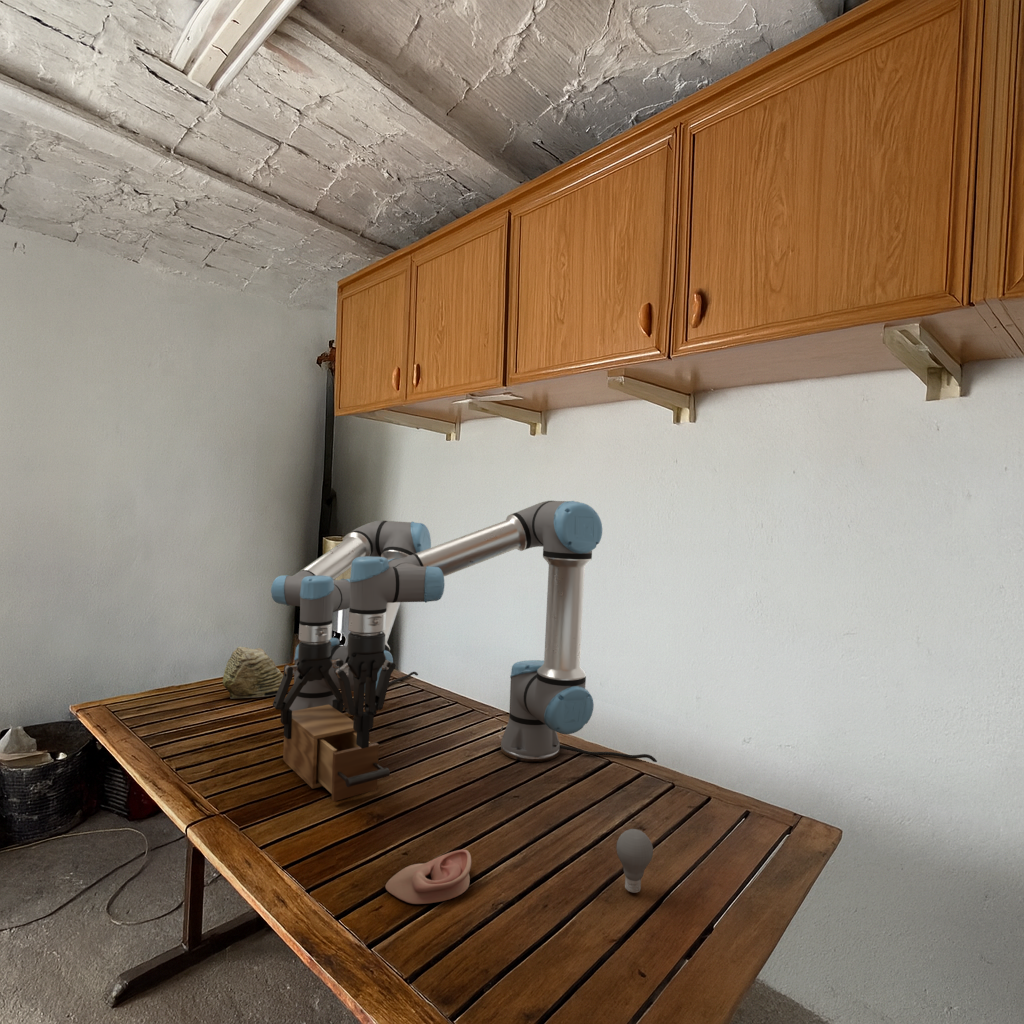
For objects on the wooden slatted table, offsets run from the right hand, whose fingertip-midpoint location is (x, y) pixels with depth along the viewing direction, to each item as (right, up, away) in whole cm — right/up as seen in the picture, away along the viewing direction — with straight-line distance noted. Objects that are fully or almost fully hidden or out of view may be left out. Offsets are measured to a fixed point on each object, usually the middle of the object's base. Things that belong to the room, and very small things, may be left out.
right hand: (362, 745), depth 131 cm
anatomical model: (+17, -14, -26) cm, 34 cm away
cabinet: (-14, -11, +17) cm, 24 cm away
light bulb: (+51, -15, -25) cm, 59 cm away
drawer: (-5, -11, +6) cm, 14 cm away
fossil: (-50, -9, +67) cm, 84 cm away
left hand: (-17, -5, +21) cm, 27 cm away
